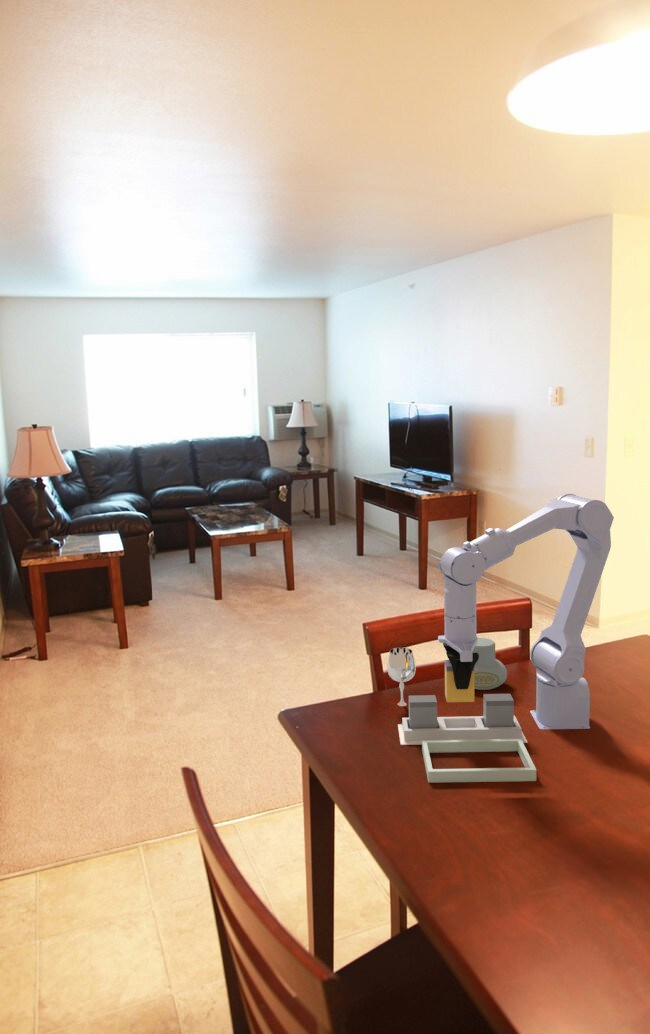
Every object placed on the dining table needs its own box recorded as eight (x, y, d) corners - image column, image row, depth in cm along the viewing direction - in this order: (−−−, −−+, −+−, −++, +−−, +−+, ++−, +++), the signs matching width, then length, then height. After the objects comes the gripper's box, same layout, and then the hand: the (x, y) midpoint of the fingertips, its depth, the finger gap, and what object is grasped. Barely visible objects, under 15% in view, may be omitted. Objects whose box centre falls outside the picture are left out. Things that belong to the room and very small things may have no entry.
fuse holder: (517, 725, 137) (517, 712, 137) (527, 745, 129) (527, 732, 129) (397, 727, 138) (397, 714, 138) (400, 747, 130) (400, 734, 130)
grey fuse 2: (509, 728, 135) (510, 693, 133) (513, 736, 132) (513, 700, 130) (483, 728, 135) (483, 694, 134) (486, 736, 132) (486, 701, 131)
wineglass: (415, 700, 149) (415, 646, 147) (416, 713, 144) (415, 656, 142) (388, 700, 150) (387, 646, 148) (388, 712, 144) (386, 656, 142)
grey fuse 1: (435, 729, 135) (435, 695, 134) (437, 737, 132) (437, 702, 131) (409, 730, 135) (408, 695, 134) (410, 737, 132) (409, 702, 131)
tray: (520, 751, 127) (521, 738, 127) (536, 784, 117) (536, 770, 116) (422, 753, 128) (421, 740, 127) (428, 785, 117) (428, 771, 117)
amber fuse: (471, 694, 133) (471, 659, 132) (474, 701, 130) (474, 665, 129) (444, 695, 134) (444, 660, 132) (447, 702, 131) (446, 666, 129)
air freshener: (456, 692, 153) (456, 648, 151) (455, 677, 161) (455, 635, 159) (508, 693, 151) (509, 649, 149) (504, 678, 159) (505, 635, 157)
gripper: (433, 602, 136) (434, 669, 139) (443, 627, 122) (443, 701, 125) (470, 601, 136) (470, 668, 139) (484, 626, 122) (484, 700, 124)
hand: (460, 684), depth 132 cm, fingers closed on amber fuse, 3 cm apart
